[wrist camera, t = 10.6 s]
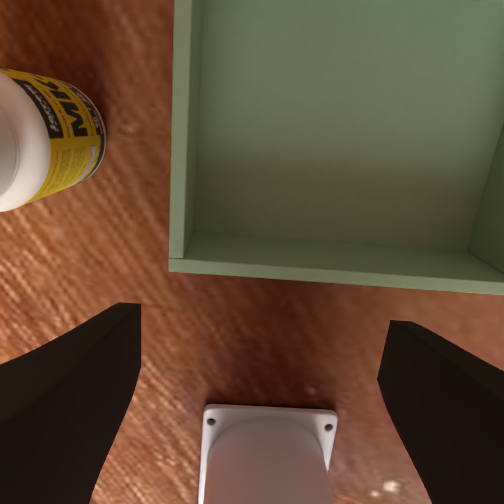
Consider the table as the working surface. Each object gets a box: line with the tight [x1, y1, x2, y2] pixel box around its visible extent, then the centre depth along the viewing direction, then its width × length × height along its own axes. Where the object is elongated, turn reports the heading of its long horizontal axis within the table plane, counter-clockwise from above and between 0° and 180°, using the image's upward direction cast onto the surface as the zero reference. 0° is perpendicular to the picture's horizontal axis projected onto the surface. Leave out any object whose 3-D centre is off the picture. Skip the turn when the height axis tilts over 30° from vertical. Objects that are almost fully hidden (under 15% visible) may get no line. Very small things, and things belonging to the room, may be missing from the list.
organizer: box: [168, 0, 504, 295], centre depth 16 cm, size 12×15×4 cm
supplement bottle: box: [0, 67, 106, 212], centre depth 14 cm, size 5×5×8 cm
